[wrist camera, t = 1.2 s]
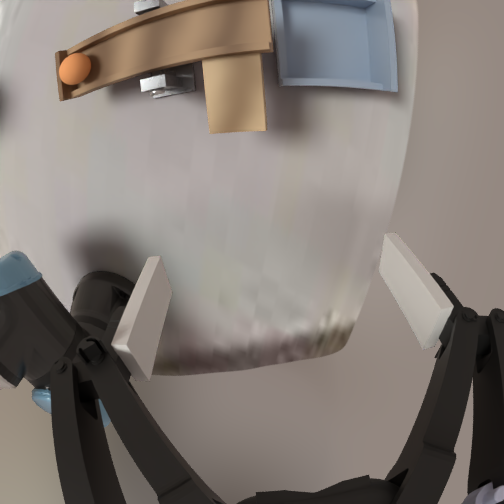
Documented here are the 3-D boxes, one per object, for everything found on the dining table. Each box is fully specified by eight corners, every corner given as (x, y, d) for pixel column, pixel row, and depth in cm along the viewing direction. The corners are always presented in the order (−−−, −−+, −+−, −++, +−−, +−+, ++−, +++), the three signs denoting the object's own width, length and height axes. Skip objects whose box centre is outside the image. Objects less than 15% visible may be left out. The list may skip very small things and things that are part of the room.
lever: (89, 151, 28) (70, 160, 25) (74, 51, 21) (55, 53, 18) (278, 129, 23) (273, 134, 20) (267, -7, 16) (259, -19, 13)
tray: (278, 86, 28) (285, 85, 23) (270, -3, 22) (275, -21, 17) (374, 90, 28) (397, 92, 23) (368, 5, 22) (389, -6, 17)
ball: (74, 87, 22) (54, 90, 19) (71, 59, 20) (51, 60, 17) (99, 77, 22) (79, 79, 19) (96, 48, 20) (76, 47, 17)
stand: (155, 98, 28) (129, 101, 22) (147, 17, 22) (121, 1, 16) (195, 90, 28) (180, 90, 22) (188, 7, 22) (171, -13, 16)
